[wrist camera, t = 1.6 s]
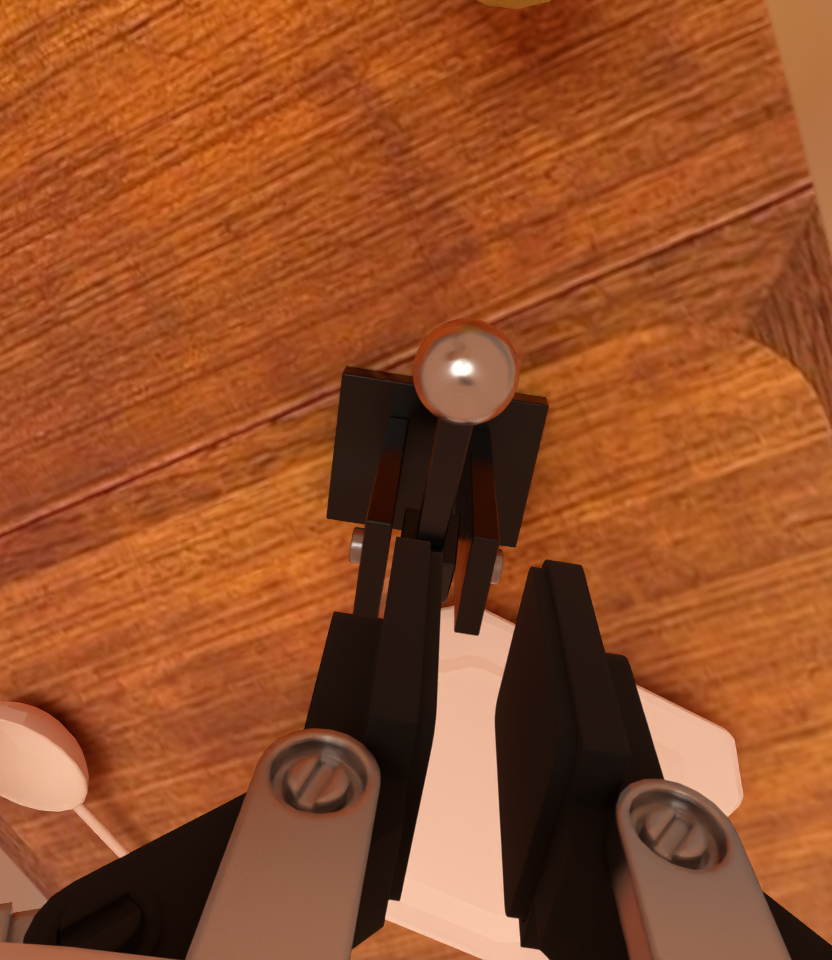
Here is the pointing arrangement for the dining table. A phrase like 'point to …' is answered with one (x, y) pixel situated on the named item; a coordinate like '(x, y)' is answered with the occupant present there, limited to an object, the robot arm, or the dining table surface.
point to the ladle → (45, 766)
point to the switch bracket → (402, 476)
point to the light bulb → (512, 3)
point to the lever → (456, 420)
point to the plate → (475, 803)
